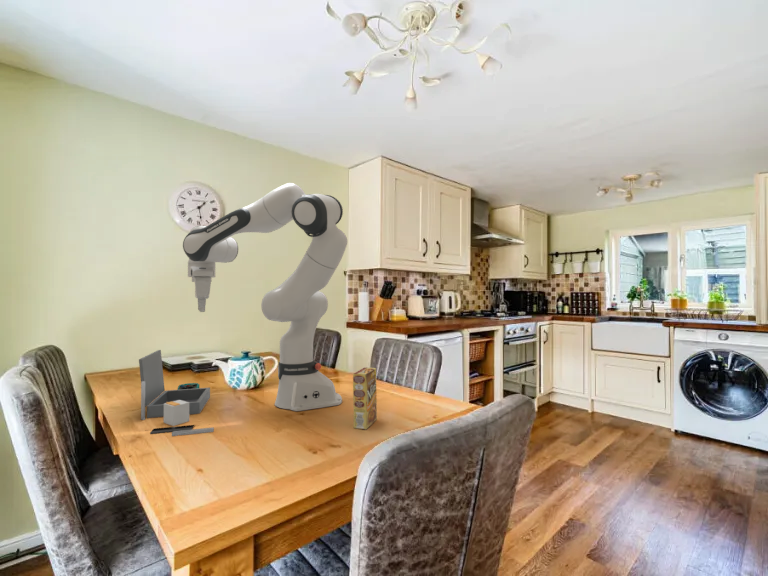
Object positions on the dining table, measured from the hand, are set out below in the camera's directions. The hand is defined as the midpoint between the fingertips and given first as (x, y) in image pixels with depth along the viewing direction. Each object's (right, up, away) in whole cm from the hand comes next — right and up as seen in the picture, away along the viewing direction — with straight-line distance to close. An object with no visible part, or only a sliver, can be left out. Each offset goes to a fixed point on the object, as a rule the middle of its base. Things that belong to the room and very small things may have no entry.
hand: (201, 311), depth 131 cm
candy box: (+60, -31, -25) cm, 72 cm away
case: (0, -31, -12) cm, 33 cm away
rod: (+14, -31, -32) cm, 47 cm away
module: (+6, -31, -26) cm, 41 cm away
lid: (-8, -20, -14) cm, 26 cm away
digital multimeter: (-9, -32, +7) cm, 34 cm away
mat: (+6, -31, -26) cm, 41 cm away
